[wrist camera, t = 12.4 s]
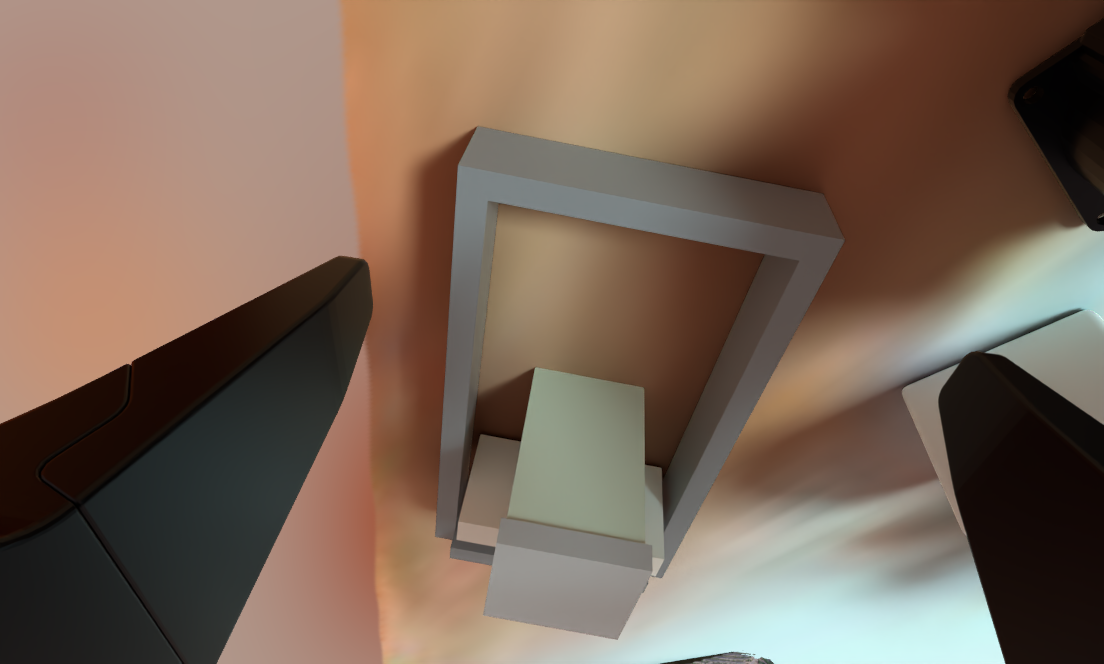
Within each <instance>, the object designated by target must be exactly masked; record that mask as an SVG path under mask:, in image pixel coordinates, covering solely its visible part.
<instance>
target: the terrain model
mask: <svg viewBox="0 0 1104 664" xmlns="http://www.w3.org/2000/svg"><path fill="white" fill-rule="evenodd" d="M741 654H748V653H739V652H729V653H723V654H717V655H711V656H705V657H699V658H692V659H686V660H680V661H674V662H667V663H662V664H774V663H773V662H772V661H771V660H770V659H764V658H762V657H761V658H760V659H754V657H752V656H747V655H741ZM749 655H751V654H749ZM753 655H755V654H753Z"/></svg>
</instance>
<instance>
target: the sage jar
mask: <svg viewBox="0 0 1104 664" xmlns="http://www.w3.org/2000/svg"><path fill="white" fill-rule="evenodd" d="M652 572H653V567H652V545H648V544H645V432H644V387H639V386H633V385H628V384H623V383H618V382H612V381H607V380H602V379H596V378H591V377H586V376H580V375H575V374H570V373H564V372H559V371H554V370H549V369H543V368H538V367H535V371H534V376H533V381H532V387H531V392H530V397H529V402H528V407H527V413H526V418H525V423H524V428H523V433H522V439H521V444H520V449H519V455H518V460H517V465H516V471H515V476H514V481H513V487H512V492H511V497H510V503H509V508H508V513H507V518H501V522H500V527H499V532H498V537H497V542H496V547H495V553H494V559H493V564H492V570H491V575H490V581H489V586H488V592H487V597H486V603H485V608H484V614H483V615H484V616H489V617H495V618H500V619H506V620H512V621H517V622H523V623H528V624H534V625H539V626H545V627H550V628H556V629H561V630H567V631H572V632H578V633H583V634H589V635H594V636H600V637H605V638H611V639H616V640H618V638H619V636H620V634H621V632H622V630H623V628H624V626H625V624H626V622H627V620H628V618H629V616H630V614H631V613H632V611H633V609H634V607H635V605H636V603H637V601H638V599H639V597H640V595H641V593H642V591H643V589H644V587H645V585H646V583H647V582H648V580H649V578H650V576H651V574H652Z"/></svg>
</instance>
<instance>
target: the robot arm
mask: <svg viewBox="0 0 1104 664" xmlns="http://www.w3.org/2000/svg"><path fill="white" fill-rule="evenodd" d="M1035 86H1037V90H1036V92H1035V94H1033V95H1032V96H1031V97H1029V98H1027V99H1023V97H1024V95H1025V93H1026V92H1027V91H1028V90H1029V89H1030V88H1033V87H1035ZM1008 100H1009V103H1010V105H1011V106H1012V108H1013V110H1014V111H1015V113H1016V115H1017V116H1018V118H1019V119H1020V121H1021V123H1022V124H1023V126H1024V128H1025V129H1026V131H1027V132H1028V134H1029V136H1030V137H1031V139H1032V141H1033V142H1034V144H1035V145H1036V147H1037V149H1038V150H1039V152H1040V154H1041V155H1042V157H1043V158H1044V160H1045V162H1046V163H1047V165H1048V167H1049V168H1050V170H1051V171H1052V173H1053V175H1054V176H1055V178H1056V180H1057V181H1058V183H1059V184H1060V186H1061V188H1062V189H1063V191H1064V193H1065V194H1066V196H1067V198H1068V199H1069V201H1070V202H1071V204H1072V206H1073V207H1074V209H1075V211H1076V212H1077V214H1078V215H1079V217H1080V219H1081V220H1082V222H1084V223H1085V224H1086V225H1087V226H1088V227H1089V228H1090V229H1091V230H1093V231H1104V216H1103V217H1101V218H1098V216H1099V215H1101V214H1102V213H1104V18H1103V19H1102V20H1100V21H1099V22H1097V23H1096V24H1094V25H1093V26H1091V27H1090V28H1088V29H1087V30H1086V32H1085V33H1084V34H1083V36H1082V37H1080V38H1079V39H1077V40H1076V41H1074V42H1073V43H1071V44H1070V45H1068V46H1067V47H1065V48H1064V49H1062V50H1061V51H1059V52H1058V53H1056V54H1055V55H1054V56H1052V57H1051V58H1049V59H1048V60H1046V61H1045V62H1043V63H1042V64H1040V65H1039V66H1037V67H1036V68H1034V69H1033V70H1031V71H1030V72H1028V73H1027V74H1025V75H1024V76H1022V77H1021V78H1019V79H1018V80H1017V81H1016V82H1015V83H1014V84H1013V85H1012V86H1011V88H1010V90H1009V93H1008ZM1097 218H1098V219H1097ZM372 310H373V299H372V290H371V280H370V271H369V266H368V263H367V262H366V261H365V260H364V259H360V258H353V257H347V256H338V257H335V258H333V259H331V260H329V261H327V262H325V263H323V264H322V265H320V266H318V267H316V268H314V269H312V270H310V271H308V272H306V273H304V274H302V275H300V276H298V277H296V278H294V279H292V280H290V281H288V282H287V283H285V284H282V285H281V286H279V287H277V288H275V289H273V290H271V291H269V292H267V293H265V294H263V295H261V296H259V297H257V298H255V299H253V300H251V301H249V302H247V303H245V304H243V305H241V306H239V307H237V308H235V309H233V310H232V311H230V312H228V313H226V314H224V315H222V316H220V317H218V318H216V319H214V320H212V321H210V322H208V323H206V324H204V325H202V326H200V327H199V328H196V329H195V330H192V331H190V332H189V333H187V334H185V335H183V336H181V337H179V338H177V339H175V340H173V341H171V342H169V343H167V344H165V345H163V346H161V347H159V348H157V349H155V350H153V351H151V352H149V353H147V354H146V355H143V356H142V357H139V358H137V359H136V360H134V361H133V362H132V364H131V365H129V364H126V365H124V366H122V367H120V368H118V369H116V370H114V371H112V372H110V373H108V374H106V375H104V376H102V377H100V378H98V379H96V380H94V381H92V382H90V383H88V384H86V385H84V386H82V387H80V388H78V389H76V390H74V391H72V392H69V393H67V394H65V395H63V396H61V397H59V398H57V399H55V400H53V401H51V402H48V403H46V404H44V405H42V406H39V407H37V408H35V409H33V410H30V411H28V412H26V413H24V414H22V415H19V416H17V417H15V418H13V419H10V420H8V421H6V422H3V423H1V424H0V664H217V662H218V659H219V657H220V655H221V653H222V651H223V649H224V647H225V645H226V643H227V641H228V639H229V637H230V635H231V633H232V630H233V628H234V626H235V624H236V622H237V620H238V618H239V616H240V614H241V612H242V610H243V608H244V606H245V604H246V601H247V599H248V597H249V595H250V593H251V591H252V589H253V587H254V585H255V583H256V581H257V579H258V577H259V574H260V572H261V570H262V568H263V566H264V564H265V562H266V560H267V558H268V556H269V554H270V552H271V549H272V547H273V545H274V543H275V541H276V539H277V537H278V535H279V533H280V531H281V529H282V527H283V525H284V523H285V520H286V519H287V516H288V514H289V512H290V510H291V508H292V506H293V504H294V502H295V500H296V498H297V496H298V494H299V492H300V489H301V487H302V485H303V483H304V481H305V479H306V477H307V474H308V473H309V471H310V469H311V467H312V465H313V463H314V460H315V458H316V456H317V454H318V452H319V450H320V448H321V446H322V444H323V442H324V439H325V438H326V436H327V433H328V431H329V429H330V427H331V425H332V423H333V421H334V419H335V417H336V415H337V413H338V410H339V408H340V406H341V404H342V401H343V399H344V397H345V394H346V391H347V387H348V385H349V382H350V379H351V376H352V373H353V371H354V368H355V365H356V362H357V358H358V356H359V353H360V350H361V347H362V344H363V341H364V338H365V335H366V332H367V329H368V326H369V323H370V320H371V316H372ZM938 407H939V413H940V419H941V424H942V430H943V435H944V441H945V447H946V452H947V458H948V463H949V469H950V475H951V480H952V485H953V489H954V494H955V498H956V501H957V505H958V509H959V512H960V515H961V519H962V522H963V525H964V529H965V532H966V535H967V539H968V542H969V545H970V549H971V552H972V555H973V558H974V562H975V565H976V568H977V572H978V575H979V578H980V582H981V585H982V588H983V591H984V595H985V598H986V601H987V605H988V608H989V611H990V615H991V618H992V621H993V624H994V628H995V631H996V634H997V638H998V641H999V644H1000V648H1001V651H1002V654H1003V658H1004V661H1005V664H1104V425H1103V424H1102V423H1100V422H1099V421H1097V420H1096V419H1095V418H1093V417H1092V416H1090V415H1089V414H1087V413H1086V412H1084V411H1083V410H1082V409H1080V408H1079V407H1077V406H1076V405H1074V404H1073V403H1071V402H1070V401H1068V400H1067V399H1066V398H1064V397H1063V396H1061V395H1060V394H1058V393H1057V392H1055V391H1054V390H1053V389H1051V388H1050V387H1048V386H1047V385H1045V384H1044V383H1042V382H1041V381H1040V380H1038V379H1037V378H1035V377H1034V376H1032V375H1031V374H1029V373H1028V372H1026V371H1025V370H1024V369H1022V368H1021V367H1019V366H1018V365H1016V364H1015V363H1013V362H1012V361H1011V360H1009V359H1008V358H1006V357H1004V356H1002V355H999V354H992V353H986V352H979V351H975V352H971V353H969V354H967V355H966V356H965V357H964V358H963V359H962V361H961V362H960V364H959V365H958V366H957V368H956V369H955V370H954V372H953V373H952V375H951V376H950V377H949V379H948V380H947V381H946V383H945V384H944V386H943V387H942V389H941V391H940V393H939V397H938Z"/></svg>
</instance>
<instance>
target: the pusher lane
mask: <svg viewBox="0 0 1104 664" xmlns="http://www.w3.org/2000/svg"><path fill="white" fill-rule="evenodd" d="M499 203H502V204H508V205H513V206H518V207H523V208H528V209H533V210H539V211H544V212H549V213H554V214H559V215H565V216H570V217H575V218H580V219H585V220H590V221H596V222H601V223H606V224H611V225H616V226H622V227H627V228H632V229H637V230H642V231H647V232H653V233H658V234H663V235H668V236H673V237H679V238H684V239H689V240H694V241H699V242H704V243H710V244H715V245H720V246H725V247H730V248H736V249H741V250H746V251H751V252H756V253H761V254H765V255H764V258H763V260H762V262H761V264H760V266H759V269H758V271H757V273H756V275H755V277H754V280H753V282H752V284H751V286H750V289H749V291H748V293H747V295H746V297H745V300H744V302H743V304H742V306H741V308H740V311H739V313H738V315H737V317H736V319H735V322H734V324H733V326H732V328H731V331H730V333H729V335H728V337H727V339H726V342H725V344H724V346H723V348H722V350H721V353H720V355H719V357H718V359H717V362H716V364H715V366H714V368H713V370H712V373H711V375H710V377H709V379H708V381H707V384H706V386H705V388H704V390H703V393H702V395H701V397H700V399H699V401H698V404H697V406H696V408H695V410H694V412H693V415H692V417H691V419H690V421H689V424H688V426H687V428H686V430H685V432H684V435H683V437H682V439H681V441H680V443H679V446H678V448H677V450H676V452H675V455H674V457H673V459H672V461H671V463H670V466H669V468H668V470H667V472H666V474H665V477H664V479H663V481H662V497H663V529H664V561H663V563H662V565H661V567H660V569H659V571H658V573H657V574H656V576H652V575H651V576H652V577H658V578H662V577H663V575H664V573H665V571H666V570H667V568H668V566H669V564H670V562H671V560H672V558H673V557H674V555H675V553H676V551H677V549H678V547H679V546H680V544H681V542H682V540H683V538H684V536H685V534H686V533H687V531H688V529H689V527H690V525H691V523H692V522H693V520H694V518H695V516H696V514H697V512H698V511H699V509H700V507H701V505H702V503H703V501H704V499H705V498H706V496H707V494H708V492H709V490H710V488H711V487H712V485H713V483H714V481H715V479H716V477H717V475H718V474H719V472H720V470H721V468H722V466H723V464H724V463H725V461H726V459H727V457H728V455H729V453H730V451H731V450H732V448H733V446H734V444H735V442H736V440H737V439H738V437H739V435H740V433H741V431H742V429H743V428H744V426H745V424H746V422H747V420H748V418H749V416H750V415H751V413H752V411H753V409H754V407H755V405H756V404H757V402H758V400H759V398H760V396H761V394H762V392H763V391H764V389H765V387H766V385H767V383H768V381H769V380H770V378H771V376H772V374H773V372H774V370H775V369H776V367H777V365H778V363H779V361H780V359H781V357H782V356H783V354H784V352H785V350H786V348H787V346H788V345H789V343H790V341H791V339H792V337H793V335H794V333H795V332H796V330H797V328H798V326H799V324H800V322H801V321H802V319H803V317H804V315H805V313H806V311H807V310H808V308H809V306H810V304H811V302H812V300H813V298H814V297H815V295H816V293H817V291H818V289H819V287H820V286H821V284H822V282H823V280H824V278H825V276H826V274H827V273H828V271H829V269H830V267H831V265H832V263H833V262H834V260H835V258H836V256H837V254H838V252H839V250H840V249H841V247H842V245H843V243H844V241H845V239H844V237H843V235H842V233H841V231H840V228H839V226H838V224H837V222H836V220H835V218H834V216H833V213H832V211H831V209H830V207H829V205H828V203H827V201H826V198H825V196H824V194H822V193H817V192H811V191H806V190H801V189H796V188H791V187H786V186H781V185H776V184H770V183H765V182H760V181H755V180H750V179H745V178H740V177H735V176H729V175H724V174H719V173H714V172H709V171H704V170H699V169H694V168H688V167H683V166H678V165H673V164H668V163H663V162H658V161H653V160H647V159H642V158H637V157H632V156H627V155H622V154H617V153H612V152H606V151H601V150H596V149H591V148H586V147H581V146H576V145H571V144H566V143H560V142H555V141H550V140H545V139H540V138H535V137H530V136H525V135H519V134H514V133H509V132H504V131H499V130H494V129H489V128H484V127H477V129H476V131H475V133H474V134H473V136H472V138H471V140H470V142H469V144H468V146H467V148H466V150H465V152H464V154H463V156H462V158H461V160H460V162H459V164H458V174H457V190H456V206H455V222H454V239H453V255H452V271H451V288H450V304H449V320H448V336H447V353H446V369H445V385H444V402H443V418H442V434H441V451H440V467H439V483H438V499H437V516H436V532H435V537H439V538H445V539H450V540H453V541H452V544H451V550H450V558H453V559H459V560H464V561H470V562H475V563H481V564H486V565H492V564H493V559H494V553H495V547H493V546H488V545H482V544H477V543H471V542H466V541H460V540H456V539H457V529H458V521H459V517H460V513H461V509H462V505H463V501H464V497H465V493H466V489H467V485H468V473H469V464H470V455H471V446H472V438H473V429H474V420H475V411H476V402H477V393H478V384H479V375H480V366H481V357H482V348H483V339H484V330H485V321H486V312H487V304H488V295H489V286H490V277H491V268H492V259H493V250H494V241H495V232H496V223H497V214H498V205H499ZM647 585H648V582H647V583H646V585H645V587H644V589H643V591H642V593H643V592H644V590H645V588H646V587H647Z"/></svg>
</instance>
